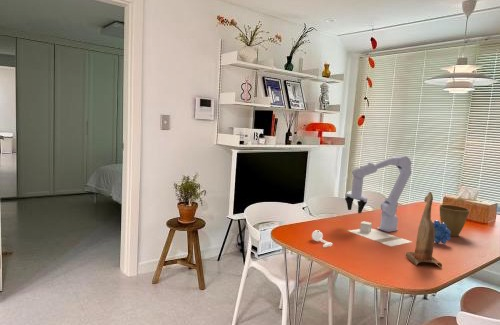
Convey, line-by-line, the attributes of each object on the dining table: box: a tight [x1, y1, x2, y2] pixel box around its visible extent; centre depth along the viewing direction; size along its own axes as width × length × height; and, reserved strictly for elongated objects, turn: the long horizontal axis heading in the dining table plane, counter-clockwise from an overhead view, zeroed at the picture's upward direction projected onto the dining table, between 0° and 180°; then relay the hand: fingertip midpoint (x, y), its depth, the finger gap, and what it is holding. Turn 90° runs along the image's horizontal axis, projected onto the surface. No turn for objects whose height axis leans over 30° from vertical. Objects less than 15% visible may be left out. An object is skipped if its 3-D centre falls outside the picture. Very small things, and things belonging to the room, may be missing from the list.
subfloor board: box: [348, 227, 412, 247], centre depth 191 cm, size 18×28×1 cm, turn 32°
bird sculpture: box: [405, 191, 443, 268], centre depth 154 cm, size 11×12×32 cm
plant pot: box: [439, 204, 470, 237], centre depth 202 cm, size 15×15×16 cm
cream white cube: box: [359, 220, 373, 233], centre depth 199 cm, size 5×5×5 cm
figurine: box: [311, 229, 333, 248], centre depth 174 cm, size 8×6×12 cm
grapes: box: [432, 219, 452, 245], centre depth 184 cm, size 12×7×12 cm, turn 57°
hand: (354, 211), depth 205 cm, fingers open, 7 cm apart
